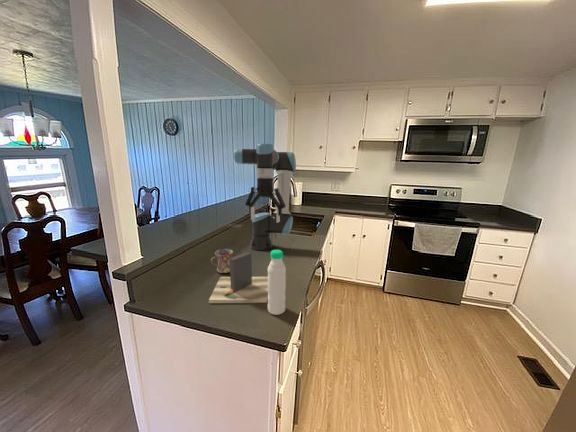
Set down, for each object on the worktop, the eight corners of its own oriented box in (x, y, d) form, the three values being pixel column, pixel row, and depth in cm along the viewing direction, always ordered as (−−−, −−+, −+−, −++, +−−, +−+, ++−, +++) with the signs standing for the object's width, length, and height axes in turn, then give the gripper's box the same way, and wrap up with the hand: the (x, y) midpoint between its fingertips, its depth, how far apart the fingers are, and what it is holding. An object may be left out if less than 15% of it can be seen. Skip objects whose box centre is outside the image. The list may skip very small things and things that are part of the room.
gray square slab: (223, 293, 102) (221, 261, 99) (248, 281, 113) (247, 251, 110) (226, 295, 101) (225, 263, 97) (251, 283, 111) (251, 253, 108)
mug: (228, 265, 134) (227, 247, 132) (237, 270, 128) (236, 252, 125) (207, 271, 126) (206, 253, 124) (216, 278, 120) (215, 258, 117)
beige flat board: (220, 279, 118) (220, 276, 118) (269, 279, 119) (268, 276, 119) (209, 303, 99) (208, 299, 98) (267, 302, 100) (267, 299, 99)
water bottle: (285, 304, 98) (286, 247, 93) (285, 315, 92) (286, 254, 86) (268, 304, 98) (267, 247, 92) (267, 315, 91) (266, 254, 86)
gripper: (237, 177, 113) (239, 220, 118) (287, 179, 106) (286, 225, 111) (245, 176, 120) (246, 216, 125) (292, 177, 113) (291, 221, 118)
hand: (265, 220), depth 118 cm, fingers open, 13 cm apart
